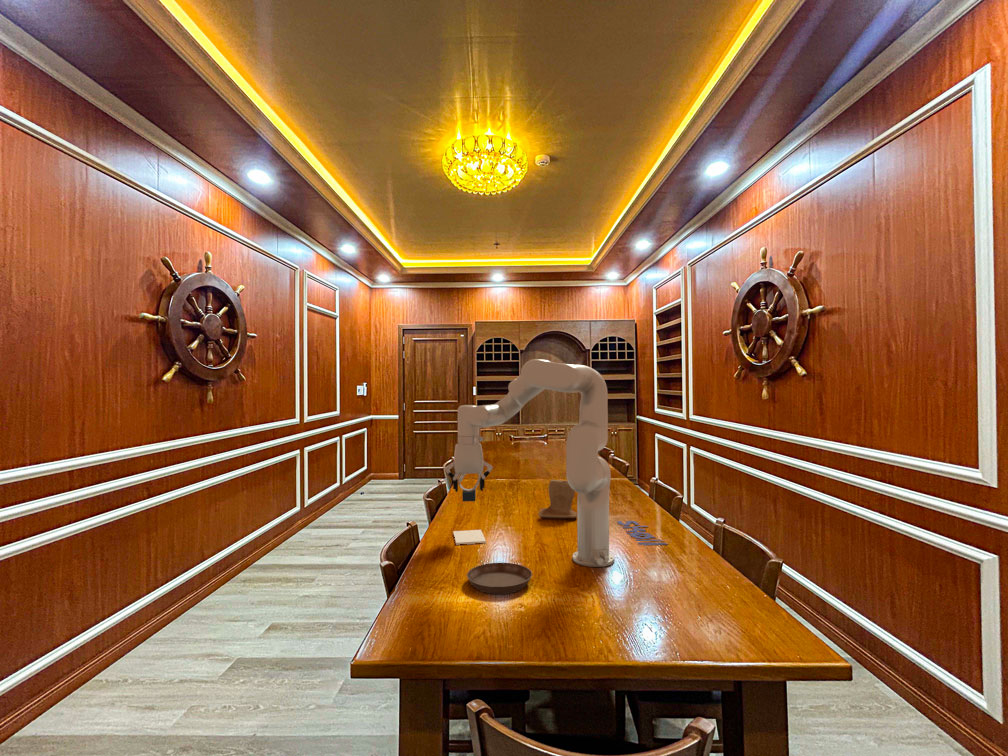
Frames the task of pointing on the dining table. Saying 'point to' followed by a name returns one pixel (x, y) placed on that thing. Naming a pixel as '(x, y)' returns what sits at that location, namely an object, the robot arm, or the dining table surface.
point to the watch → (468, 493)
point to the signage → (636, 534)
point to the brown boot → (559, 501)
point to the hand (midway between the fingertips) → (468, 490)
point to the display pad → (469, 537)
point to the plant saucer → (499, 577)
